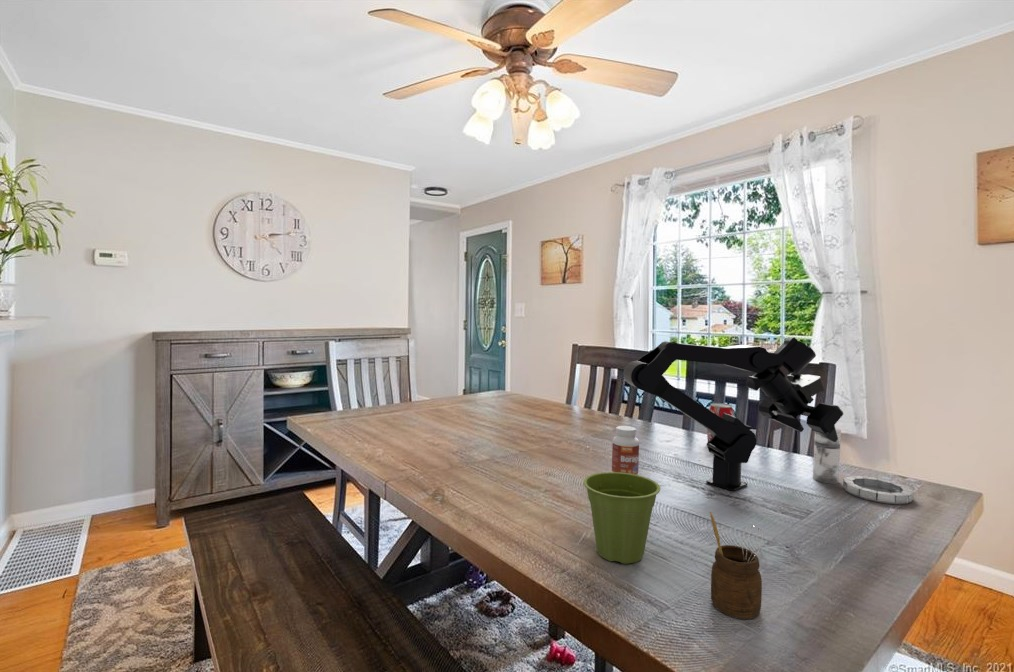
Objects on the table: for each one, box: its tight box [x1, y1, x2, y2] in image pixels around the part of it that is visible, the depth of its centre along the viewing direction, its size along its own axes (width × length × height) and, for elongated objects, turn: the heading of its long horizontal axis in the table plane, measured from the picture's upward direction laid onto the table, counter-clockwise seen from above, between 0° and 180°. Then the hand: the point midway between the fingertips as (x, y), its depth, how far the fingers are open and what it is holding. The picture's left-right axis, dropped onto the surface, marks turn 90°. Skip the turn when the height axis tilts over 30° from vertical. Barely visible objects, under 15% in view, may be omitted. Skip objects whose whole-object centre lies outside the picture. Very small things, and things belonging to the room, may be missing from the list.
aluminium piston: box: [812, 427, 842, 485], centre depth 111 cm, size 5×5×12 cm
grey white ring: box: [842, 475, 914, 506], centre depth 102 cm, size 12×12×2 cm
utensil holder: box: [709, 511, 764, 620], centre depth 62 cm, size 6×6×12 cm
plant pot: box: [582, 471, 661, 565], centre depth 76 cm, size 12×12×11 cm
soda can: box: [706, 402, 735, 443], centre depth 139 cm, size 7×7×12 cm
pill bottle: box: [611, 425, 640, 475], centre depth 113 cm, size 6×6×11 cm
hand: (818, 435), depth 110 cm, fingers open, 9 cm apart
